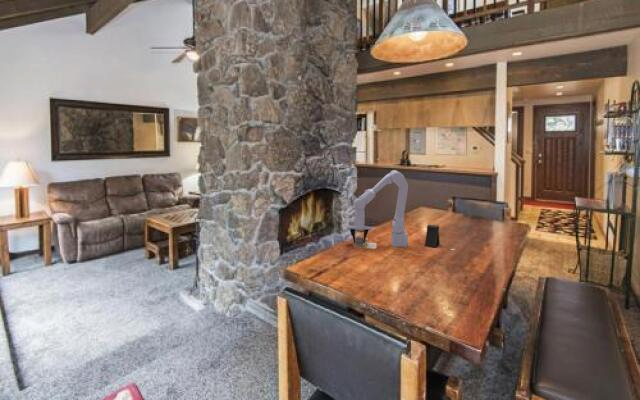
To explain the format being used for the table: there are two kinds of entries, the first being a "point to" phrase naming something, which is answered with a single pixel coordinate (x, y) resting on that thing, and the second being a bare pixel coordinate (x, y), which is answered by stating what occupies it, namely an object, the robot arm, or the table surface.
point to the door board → (365, 245)
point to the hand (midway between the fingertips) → (359, 241)
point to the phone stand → (432, 236)
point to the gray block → (359, 241)
